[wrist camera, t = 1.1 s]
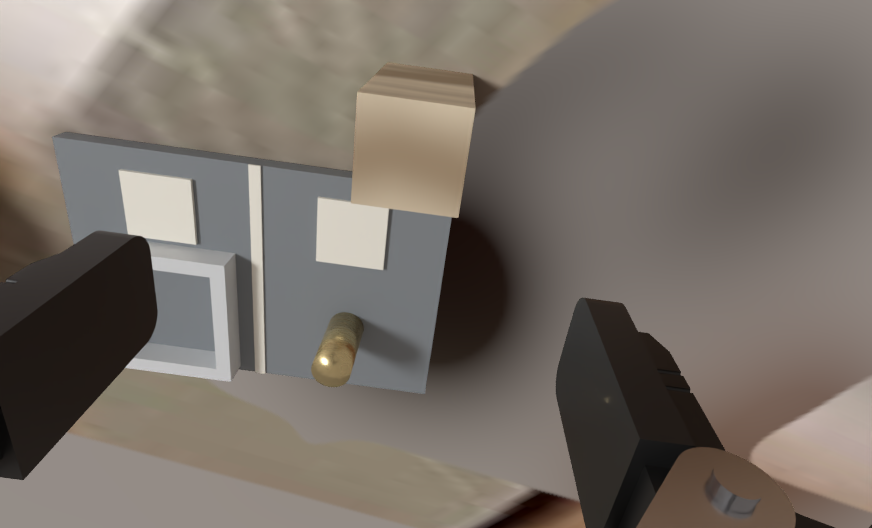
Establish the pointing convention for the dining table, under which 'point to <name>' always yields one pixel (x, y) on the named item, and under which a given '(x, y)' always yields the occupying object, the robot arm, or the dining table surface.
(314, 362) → the pin
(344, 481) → the dining table surface
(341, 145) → the dining table surface
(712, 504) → the robot arm
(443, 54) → the dining table surface
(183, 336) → the board
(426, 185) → the square pin
